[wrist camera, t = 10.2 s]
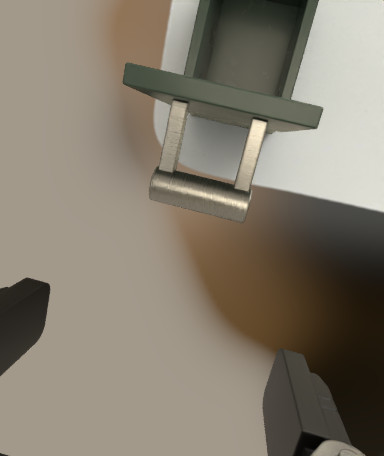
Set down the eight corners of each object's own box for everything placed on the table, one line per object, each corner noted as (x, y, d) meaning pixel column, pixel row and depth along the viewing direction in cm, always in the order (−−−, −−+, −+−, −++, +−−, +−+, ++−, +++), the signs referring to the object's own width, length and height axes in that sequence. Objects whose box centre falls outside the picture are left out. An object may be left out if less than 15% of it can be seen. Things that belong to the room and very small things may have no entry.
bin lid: (125, 61, 13) (103, 198, 15) (324, 107, 13) (280, 244, 14) (177, 95, 24) (162, 171, 26) (285, 120, 24) (263, 196, 25)
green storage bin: (220, -15, 30) (215, -72, 22) (307, 3, 29) (332, -49, 22) (191, 115, 32) (177, 102, 25) (271, 134, 32) (282, 127, 24)
